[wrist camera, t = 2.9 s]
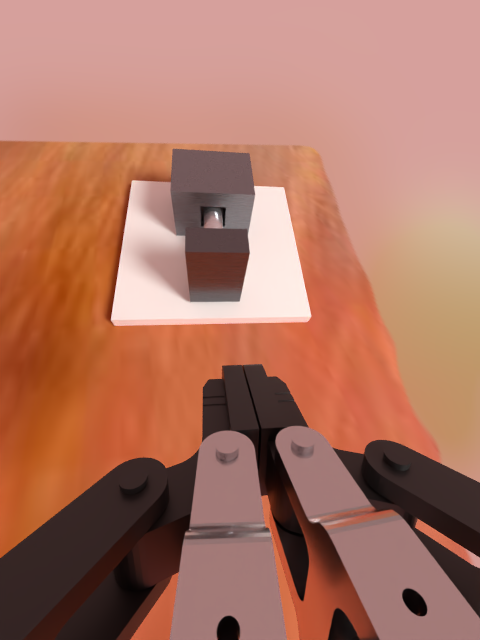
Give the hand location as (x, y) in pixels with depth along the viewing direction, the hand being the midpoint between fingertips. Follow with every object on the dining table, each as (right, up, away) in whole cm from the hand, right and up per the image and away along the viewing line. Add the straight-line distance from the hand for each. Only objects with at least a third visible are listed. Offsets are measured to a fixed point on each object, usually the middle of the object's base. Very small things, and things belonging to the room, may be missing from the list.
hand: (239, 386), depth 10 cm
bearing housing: (-4, +18, +30) cm, 35 cm away
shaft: (-4, +14, +27) cm, 31 cm away
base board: (-4, +13, +29) cm, 32 cm away
